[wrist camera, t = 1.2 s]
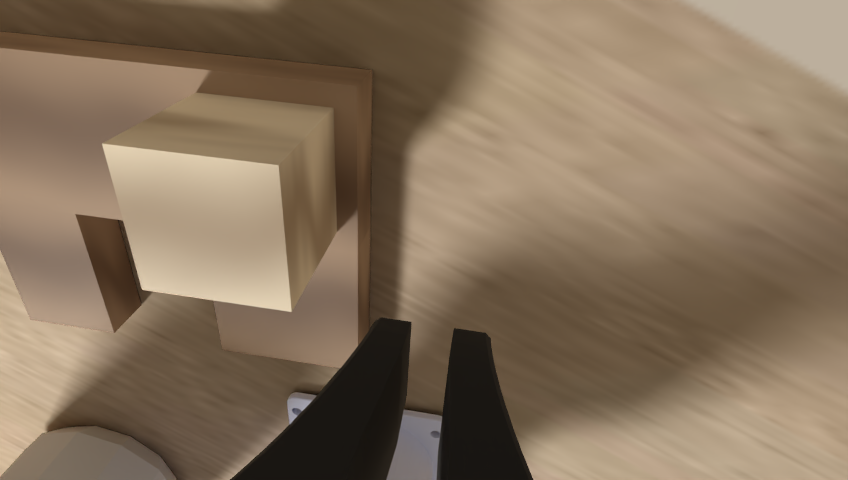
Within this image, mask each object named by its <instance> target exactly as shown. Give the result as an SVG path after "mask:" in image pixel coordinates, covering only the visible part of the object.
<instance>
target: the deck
mask: <svg viewBox="0 0 848 480" xmlns="http://www.w3.org/2000/svg"><path fill="white" fill-rule="evenodd" d="M194 93H205V94H214V95H223V96H232V97H241V98H250V99H259V100H268V101H277V102H286V103H295V104H304V105H313V106H322V107H331V108H334V141H335V177H336V214H337V233H336V235H335V236H334V238H333V240H332V242H331V243H330V245H329V247H328V249H327V250H326V252H325V254H324V256H323V258H322V259H321V261H320V263H319V265H318V266H317V268H316V270H315V272H314V273H313V275H312V277H311V279H310V280H309V282H308V284H307V286H306V288H305V289H304V291H303V293H302V295H301V296H300V298H299V300H298V302H297V303H296V305H295V307H294V309H293V310H292V312H288V311H281V310H275V309H268V308H261V307H254V306H248V305H241V304H234V303H228V302H221V301H214V300H213V303H214V308H215V313H216V319H217V324H218V329H219V335H220V340H221V345H222V350H226V351H232V352H239V353H245V354H252V355H258V356H264V357H271V358H277V359H283V360H290V361H296V362H303V363H309V364H315V365H322V366H328V367H334V368H341V367H342V366H343V365H344V363H345V362H346V361H347V359H348V358H349V357H350V356H351V354H352V353H353V352H354V351H355V349H356V348H357V347H358V345H359V344H360V343H361V341H362V340H363V338H364V337H365V336H366V334H367V333H368V331H369V308H370V223H371V139H372V70H368V69H359V68H349V67H339V66H330V65H320V64H310V63H301V62H291V61H281V60H272V59H262V58H253V57H243V56H233V55H224V54H214V53H204V52H195V51H185V50H176V49H166V48H156V47H147V46H137V45H127V44H118V43H108V42H99V41H89V40H79V39H70V38H60V37H50V36H41V35H31V34H21V33H12V32H2V31H0V250H1V252H2V255H3V257H4V259H5V262H6V264H7V266H8V269H9V271H10V273H11V276H12V278H13V280H14V283H15V285H16V287H17V290H18V292H19V294H20V296H21V299H22V301H23V303H24V306H25V308H26V310H27V313H28V315H29V317H30V320H35V321H41V322H48V323H54V324H60V325H67V326H73V327H80V328H86V329H92V330H99V331H105V332H111V333H115V332H116V331H117V329H118V328H119V327H120V326H121V325H122V324H123V323H124V322H125V321H126V320H127V319H128V318H129V317H130V316H131V315H132V314H133V313H134V312H135V311H136V310H137V309H138V308H139V307H140V306H141V302H140V298H139V295H138V291H137V287H136V284H135V280H134V277H133V273H132V270H131V266H130V263H129V259H128V255H127V252H126V248H125V245H124V241H123V238H122V234H121V230H120V227H119V223H118V220H123V218H122V215H121V211H120V208H119V204H118V200H117V197H116V193H115V189H114V186H113V182H112V178H111V175H110V171H109V168H108V164H107V160H106V157H105V153H104V149H103V146H102V143H104V142H106V141H108V140H109V139H111V138H113V137H115V136H117V135H119V134H120V133H122V132H124V131H126V130H128V129H130V128H131V127H133V126H135V125H137V124H139V123H141V122H142V121H144V120H146V119H148V118H150V117H152V116H154V115H155V114H157V113H159V112H161V111H163V110H165V109H166V108H168V107H170V106H172V105H174V104H176V103H177V102H179V101H181V100H183V99H185V98H187V97H188V96H190V95H192V94H194Z"/></svg>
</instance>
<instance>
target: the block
mask: <svg viewBox="0 0 848 480" xmlns="http://www.w3.org/2000/svg"><path fill="white" fill-rule="evenodd" d="M102 146H103V149H104V153H105V157H106V160H107V164H108V168H109V171H110V175H111V178H112V182H113V186H114V189H115V193H116V197H117V200H118V204H119V208H120V211H121V215H122V218H123V222H124V226H125V229H126V233H127V237H128V240H129V244H130V248H131V251H132V255H133V258H134V262H135V266H136V269H137V273H138V277H139V280H140V284H141V288H142V290H147V291H153V292H160V293H167V294H174V295H180V296H187V297H194V298H201V299H207V300H214V301H221V302H228V303H234V304H241V305H248V306H254V307H261V308H268V309H275V310H281V311H288V312H292V310H293V309H294V307H295V305H296V303H297V302H298V300H299V298H300V296H301V295H302V293H303V291H304V289H305V288H306V286H307V284H308V282H309V280H310V279H311V277H312V275H313V273H314V272H315V270H316V268H317V266H318V265H319V263H320V261H321V259H322V258H323V256H324V254H325V252H326V250H327V249H328V247H329V245H330V243H331V242H332V240H333V238H334V236H335V235H336V233H337V214H336V177H335V141H334V108H331V107H322V106H313V105H304V104H295V103H286V102H277V101H268V100H259V99H250V98H241V97H232V96H223V95H214V94H205V93H194V94H192V95H190V96H188V97H187V98H185V99H183V100H181V101H179V102H177V103H176V104H174V105H172V106H170V107H168V108H166V109H165V110H163V111H161V112H159V113H157V114H155V115H154V116H152V117H150V118H148V119H146V120H144V121H142V122H141V123H139V124H137V125H135V126H133V127H131V128H130V129H128V130H126V131H124V132H122V133H120V134H119V135H117V136H115V137H113V138H111V139H109V140H108V141H106V142H104V143H102Z"/></svg>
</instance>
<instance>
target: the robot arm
mask: <svg viewBox="0 0 848 480" xmlns="http://www.w3.org/2000/svg"><path fill="white" fill-rule="evenodd" d="M410 337H411V322H408V321H401V320H394V319H387V318H379V319H378V320H376V321H375V322H374V324H373V325H372V327H371V328H370V330H369V331H368V333H367V334H366V336H365V337H364V338H363V340H362V341H361V343H360V344H359V345H358V347H357V348H356V349H355V351H354V352H353V353H352V354H351V356H350V357H349V358H348V359H347V361H346V362H345V363H344V365H343V366H342V367H341V368H340V369H339V371H338V372H337V373H336V374H335V375H334V376H333V378H332V379H331V380H330V381H329V382H328V383H327V385H326V386H325V387H324V388H323V389H322V390H321V392H320V393H319V394H318V395H312V394H305V393H299V392H294V393H291V394H290V396H289V398H288V400H287V407H288V417H289V426H288V427H287V428H286V429H285V430H284V431H283V432H282V433H281V434H280V435H279V436H278V437H277V438H275V439H274V440H273V441H272V442H271V443H270V444H269V445H268V446H267V447H266V448H265V449H264V450H263V451H262V452H261V453H260V454H259V455H258V456H256V457H255V458H254V459H253V460H252V461H251V462H250V463H249V464H247V465H246V466H245V467H244V468H243V469H242V470H241V471H240V472H238V473H237V474H236V475H235V476H234V477H233V478H231V479H230V480H533V478H532V476H531V473H530V471H529V468H528V466H527V463H526V461H525V458H524V456H523V454H522V451H521V448H520V446H519V443H518V440H517V438H516V435H515V432H514V429H513V426H512V423H511V420H510V418H509V415H508V412H507V409H506V406H505V403H504V399H503V396H502V393H501V389H500V385H499V382H498V378H497V374H496V370H495V365H494V360H493V355H492V348H491V338H490V337H489V336H488V335H487V334H486V333H482V332H476V331H469V330H462V329H455V328H454V332H453V338H452V344H451V351H450V358H449V366H448V374H447V382H446V390H445V398H444V407H443V415H442V416H440V415H435V414H429V413H422V412H416V411H410V410H404V406H405V401H406V396H407V381H408V367H409V352H410Z"/></svg>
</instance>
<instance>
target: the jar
mask: <svg viewBox="0 0 848 480" xmlns="http://www.w3.org/2000/svg"><path fill="white" fill-rule="evenodd" d="M0 480H177V478H176V477H175V476H174V474H173V473H172V472H171V470H170V469H169V467H168V466H167V465H166V463H165V462H164V461H163V459H162V458H161V456H159V455H158V454H156V453H155V452H153V451H152V450H150V449H149V448H147V447H146V446H144V445H143V444H141V443H140V442H138V441H137V440H135V439H134V438H132V437H130V436H127V435H124V434H121V433H118V432H114V431H111V430H108V429H105V428H102V427H98V426H80V427H66V428H62V429H58V430H54V431H50V432H47V433H43V434H41V435H40V436H39V437H38V438H37V439H36V440H35V441H34V442H33V443H32V444H31V445H30V446H29V447H28V448H26V449H25V451H24V452H23V453H22V454H21V455H20V456H19V457H18V458H17V459H16V460H15V461H14V462H13V464H12V465H11V466H10V467H9V468H8V469H7V470H6V471H5V472H4V473H3V474H2V475H1V477H0Z"/></svg>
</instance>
